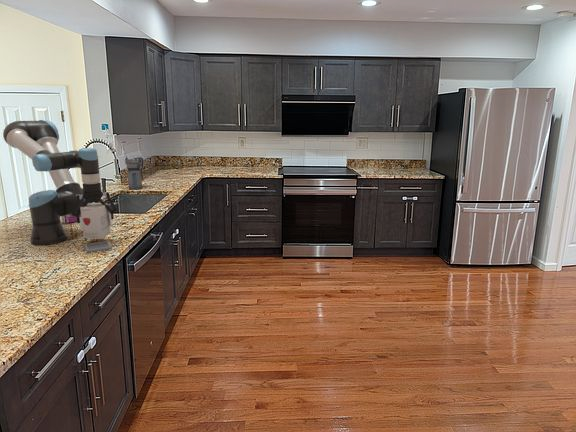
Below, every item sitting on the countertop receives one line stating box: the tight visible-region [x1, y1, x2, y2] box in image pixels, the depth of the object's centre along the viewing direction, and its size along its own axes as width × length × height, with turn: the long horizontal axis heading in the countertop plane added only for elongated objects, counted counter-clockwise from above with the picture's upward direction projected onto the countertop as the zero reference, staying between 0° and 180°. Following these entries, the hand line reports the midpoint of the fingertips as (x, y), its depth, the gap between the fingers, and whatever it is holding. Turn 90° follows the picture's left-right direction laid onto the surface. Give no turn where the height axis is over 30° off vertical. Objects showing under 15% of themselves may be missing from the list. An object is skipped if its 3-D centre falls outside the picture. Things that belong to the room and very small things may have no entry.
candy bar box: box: [60, 214, 81, 225], centre depth 228 cm, size 11×5×16 cm, turn 141°
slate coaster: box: [84, 240, 113, 254], centre depth 185 cm, size 10×10×2 cm
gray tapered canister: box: [124, 156, 144, 191], centre depth 320 cm, size 10×13×25 cm
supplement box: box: [80, 202, 111, 240], centre depth 193 cm, size 9×9×15 cm
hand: (96, 227), depth 194 cm, fingers closed on supplement box, 12 cm apart
